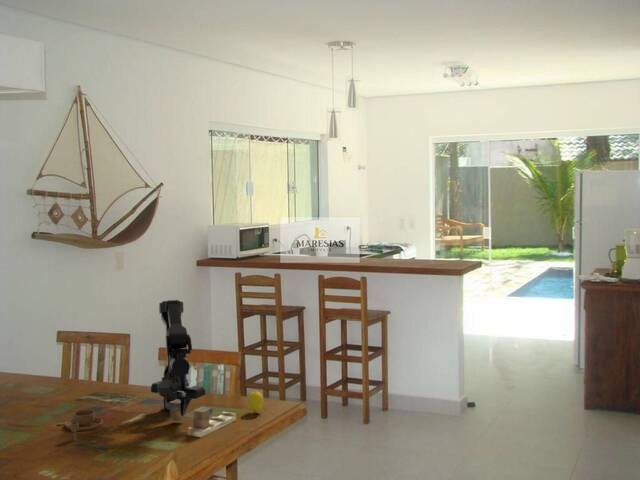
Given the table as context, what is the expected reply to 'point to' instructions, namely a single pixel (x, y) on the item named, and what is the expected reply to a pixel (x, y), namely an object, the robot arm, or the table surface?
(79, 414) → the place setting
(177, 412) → the gray and beige block
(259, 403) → the lemon
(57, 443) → the table surface
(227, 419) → the rail
